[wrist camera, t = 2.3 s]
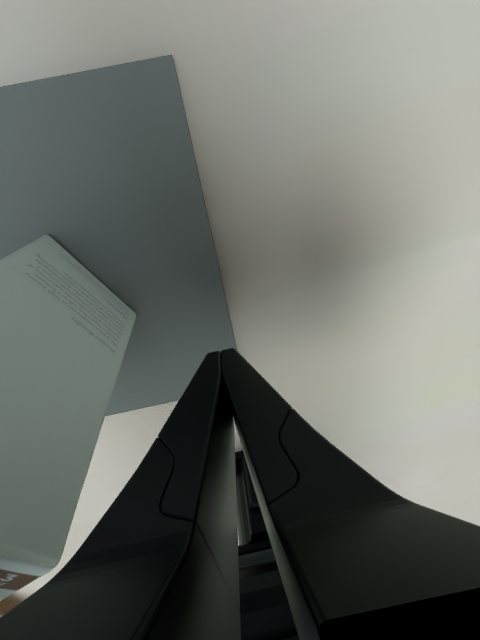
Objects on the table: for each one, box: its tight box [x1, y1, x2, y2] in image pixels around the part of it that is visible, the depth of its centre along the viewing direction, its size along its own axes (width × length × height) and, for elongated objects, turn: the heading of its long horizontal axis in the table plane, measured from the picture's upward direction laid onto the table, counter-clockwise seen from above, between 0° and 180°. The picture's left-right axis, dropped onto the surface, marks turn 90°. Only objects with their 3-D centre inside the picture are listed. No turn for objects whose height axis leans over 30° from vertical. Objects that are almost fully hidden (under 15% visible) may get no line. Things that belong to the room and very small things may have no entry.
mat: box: [0, 55, 236, 416], centre depth 16 cm, size 18×24×1 cm
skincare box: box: [0, 235, 136, 601], centre depth 10 cm, size 6×4×12 cm
